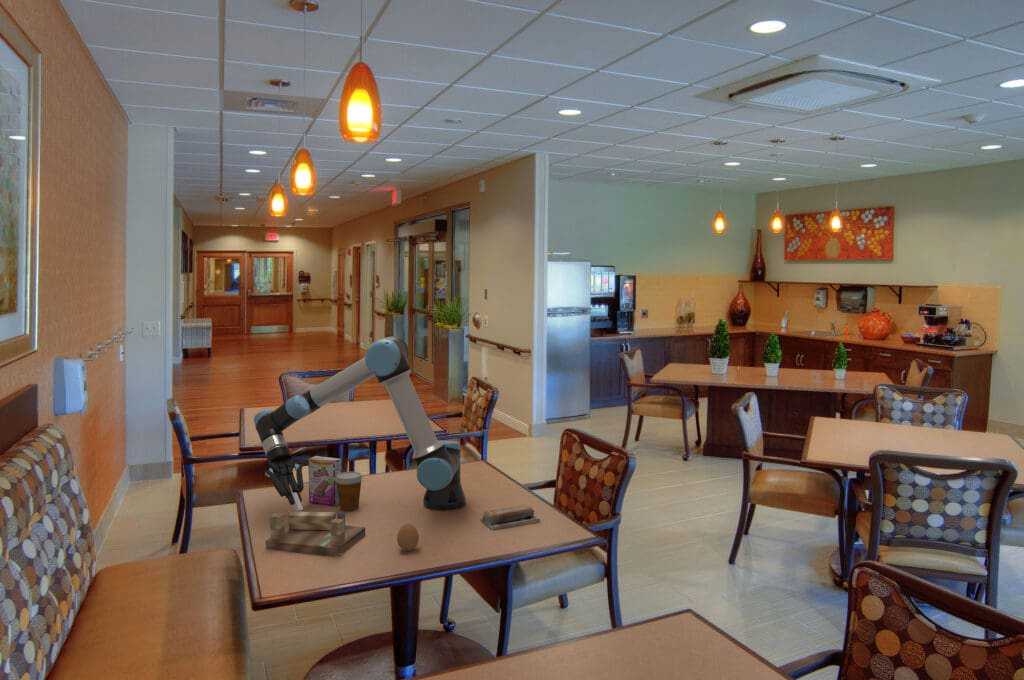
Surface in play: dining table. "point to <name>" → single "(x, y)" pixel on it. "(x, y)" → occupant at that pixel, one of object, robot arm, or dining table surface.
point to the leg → (311, 520)
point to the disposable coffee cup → (349, 489)
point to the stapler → (509, 517)
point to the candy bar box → (323, 480)
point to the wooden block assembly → (313, 537)
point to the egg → (407, 537)
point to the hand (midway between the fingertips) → (299, 511)
